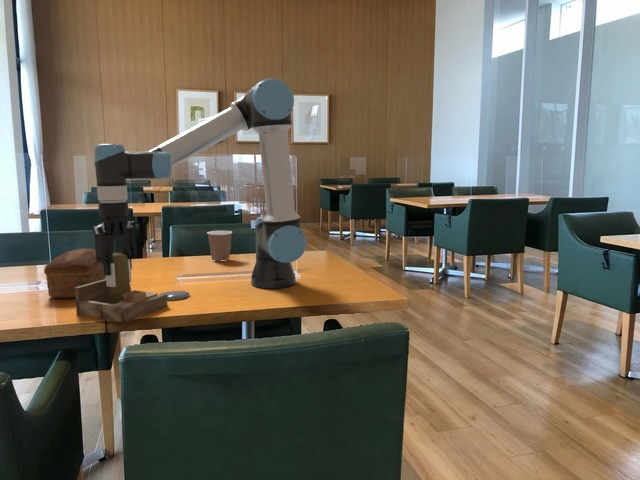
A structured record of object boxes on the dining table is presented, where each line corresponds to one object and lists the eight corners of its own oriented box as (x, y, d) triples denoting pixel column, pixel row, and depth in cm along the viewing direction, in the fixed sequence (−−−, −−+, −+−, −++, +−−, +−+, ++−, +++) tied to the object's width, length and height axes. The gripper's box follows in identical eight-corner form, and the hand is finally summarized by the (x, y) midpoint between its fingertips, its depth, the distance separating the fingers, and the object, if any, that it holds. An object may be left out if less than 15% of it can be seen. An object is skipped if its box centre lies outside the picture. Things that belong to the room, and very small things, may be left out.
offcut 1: (135, 315, 130) (134, 303, 129) (123, 320, 126) (123, 307, 126) (123, 314, 131) (122, 301, 131) (112, 318, 128) (111, 305, 127)
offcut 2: (146, 311, 134) (145, 291, 133) (136, 315, 130) (135, 295, 129) (135, 309, 135) (134, 290, 135) (124, 313, 132) (123, 293, 131)
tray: (167, 306, 138) (166, 280, 137) (125, 322, 124) (123, 294, 123) (121, 299, 145) (120, 275, 144) (76, 314, 130) (74, 287, 129)
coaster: (195, 294, 151) (195, 292, 151) (176, 301, 143) (176, 299, 143) (172, 291, 154) (171, 289, 154) (152, 298, 146) (152, 296, 146)
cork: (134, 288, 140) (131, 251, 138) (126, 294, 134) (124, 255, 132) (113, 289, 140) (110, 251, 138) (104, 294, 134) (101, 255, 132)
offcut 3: (158, 306, 138) (157, 293, 138) (148, 310, 134) (147, 296, 134) (147, 305, 140) (146, 291, 139) (137, 308, 136) (136, 295, 135)
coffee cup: (238, 259, 206) (237, 231, 204) (221, 263, 197) (220, 234, 195) (220, 257, 211) (219, 229, 209) (202, 261, 202) (201, 232, 200)
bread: (41, 302, 142) (37, 261, 140) (69, 279, 169) (66, 245, 167) (92, 299, 145) (89, 259, 143) (111, 278, 172) (109, 244, 170)
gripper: (127, 198, 142) (132, 275, 146) (75, 203, 126) (82, 290, 130) (147, 199, 140) (152, 277, 143) (96, 204, 123) (103, 293, 127)
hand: (119, 283), depth 136 cm, fingers closed on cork, 5 cm apart
